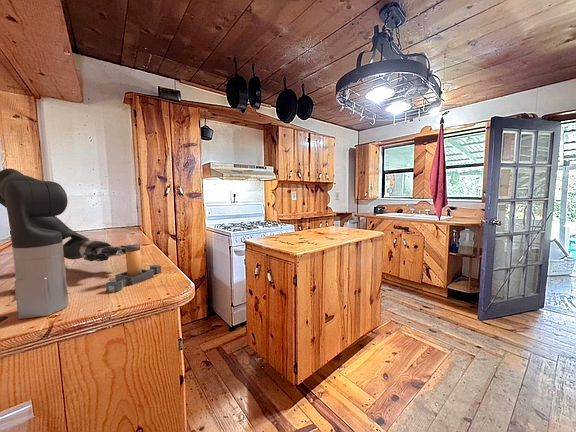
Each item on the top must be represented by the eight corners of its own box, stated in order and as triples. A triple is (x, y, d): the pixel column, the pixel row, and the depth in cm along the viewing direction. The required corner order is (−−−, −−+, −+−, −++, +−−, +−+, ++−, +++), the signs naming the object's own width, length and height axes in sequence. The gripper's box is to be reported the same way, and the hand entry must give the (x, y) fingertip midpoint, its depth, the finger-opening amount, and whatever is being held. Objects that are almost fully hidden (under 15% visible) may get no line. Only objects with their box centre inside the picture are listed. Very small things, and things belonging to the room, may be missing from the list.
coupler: (140, 280, 88) (138, 246, 87) (125, 282, 87) (123, 247, 86) (143, 277, 92) (141, 244, 91) (129, 278, 91) (127, 245, 90)
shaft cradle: (113, 293, 77) (112, 284, 77) (93, 289, 81) (93, 281, 81) (168, 273, 96) (168, 266, 96) (150, 270, 100) (150, 264, 99)
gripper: (73, 244, 94) (96, 248, 86) (114, 238, 106) (138, 241, 99) (74, 264, 95) (98, 270, 87) (115, 255, 107) (139, 260, 99)
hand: (119, 254), depth 93 cm, fingers open, 8 cm apart
